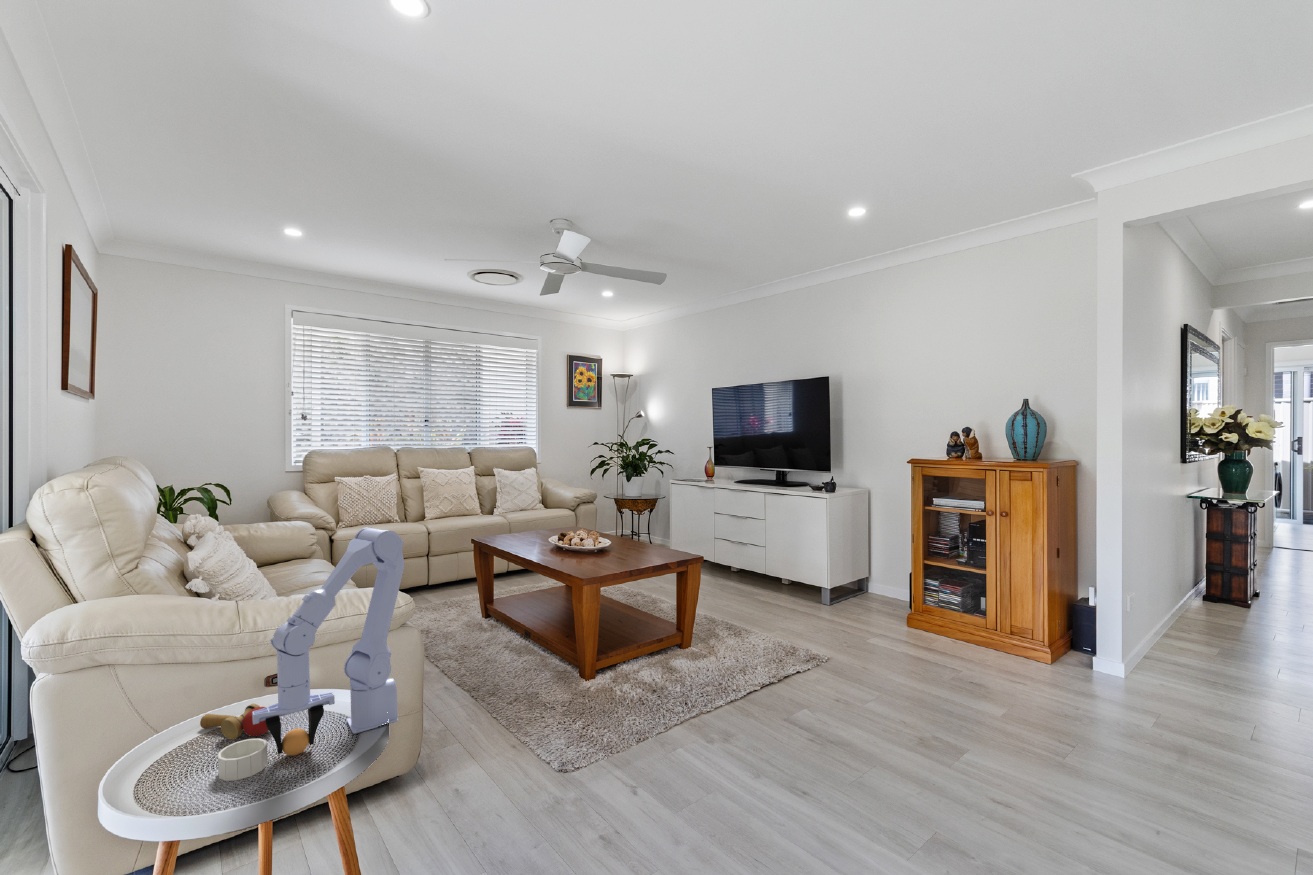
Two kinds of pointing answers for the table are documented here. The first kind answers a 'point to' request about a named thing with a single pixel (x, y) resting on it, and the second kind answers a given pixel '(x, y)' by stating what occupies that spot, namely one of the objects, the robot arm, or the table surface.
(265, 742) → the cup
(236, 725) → the kendama
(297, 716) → the table surface
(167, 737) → the table surface
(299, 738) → the ball
